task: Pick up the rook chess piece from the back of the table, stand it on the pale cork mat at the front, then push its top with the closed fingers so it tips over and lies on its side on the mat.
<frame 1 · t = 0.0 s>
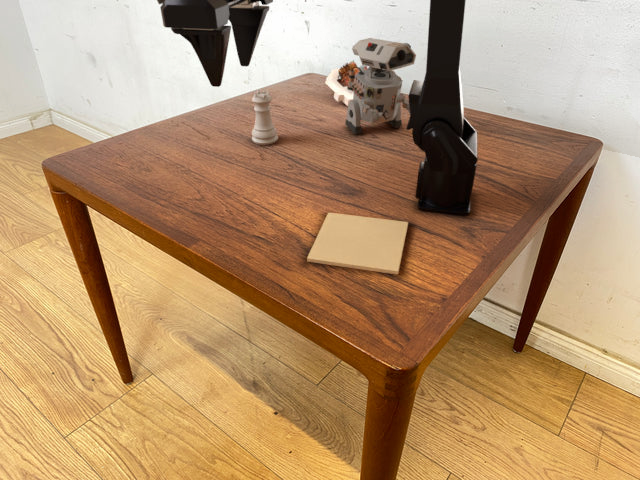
hand: (231, 75, 62), 15 cm above the table, tool pointing down, fingers open, 9 cm apart
figurine: (379, 133, 84), on the table
cork mat: (360, 242, 57), on the table
rook chess piece: (265, 141, 82), on the table
mineral specimen: (353, 97, 101), on the table
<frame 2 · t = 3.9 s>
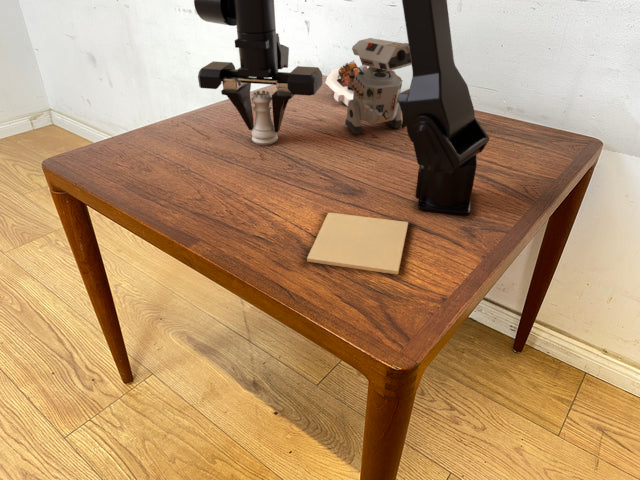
hand: (264, 130, 81), 2 cm above the table, tool pointing down, fingers closed on rook chess piece, 4 cm apart
rook chess piece: (265, 141, 82), on the table, touching gripper
everything else where it was.
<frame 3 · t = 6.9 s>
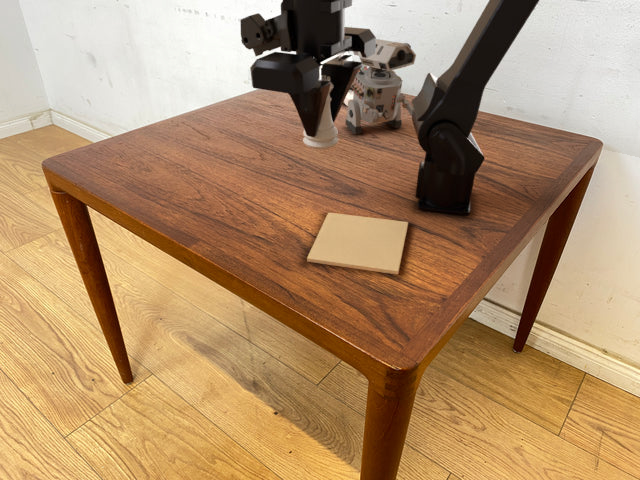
hand: (320, 129, 59), 10 cm above the table, tool pointing down, fingers closed on rook chess piece, 4 cm apart
rook chess piece: (320, 144, 61), point 8 cm above the table, touching gripper
everything else where it was.
when the fingers open (2 cm above the table, at t = 10.0 s): rook chess piece stays where it is, resting on cork mat.
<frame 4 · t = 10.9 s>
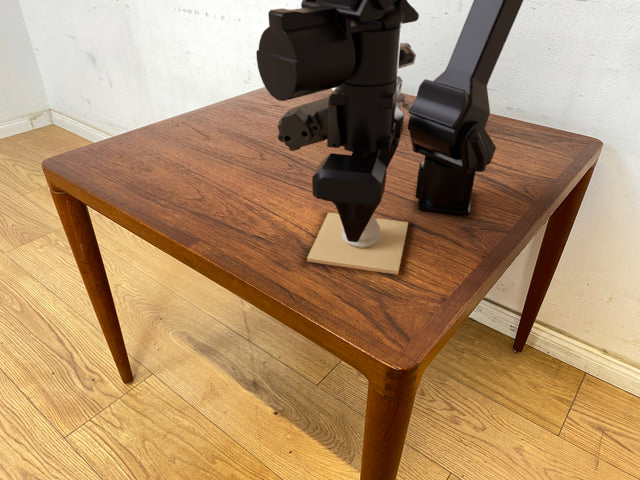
hand: (360, 218, 55), 3 cm above the table, tool pointing down, fingers open, 9 cm apart
rook chess piece: (360, 240, 56), resting on cork mat
everything else where it was.
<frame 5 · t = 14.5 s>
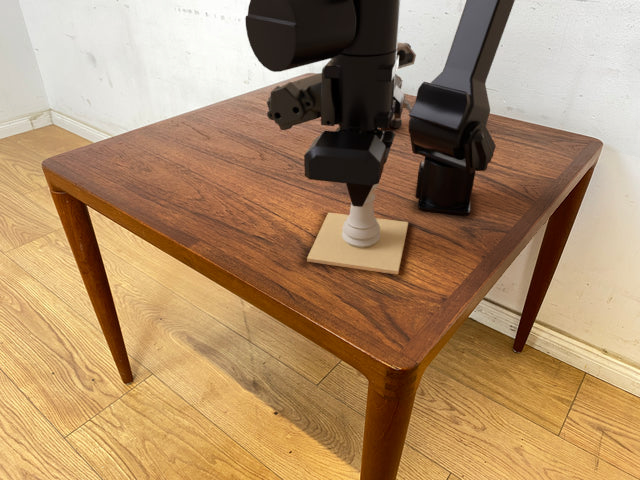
hand: (357, 205, 51), 6 cm above the table, tool pointing down, fingers closed
rook chess piece: (360, 239, 56), resting on cork mat, touching gripper
everything else where it was.
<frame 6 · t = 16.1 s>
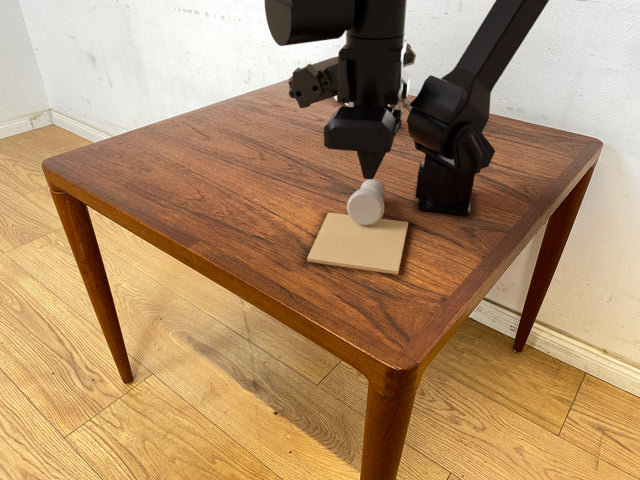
hand: (368, 177, 56), 6 cm above the table, tool pointing down, fingers closed
rook chess piece: (364, 210, 57), point 3 cm above the table, touching cork mat
everything else where it was.
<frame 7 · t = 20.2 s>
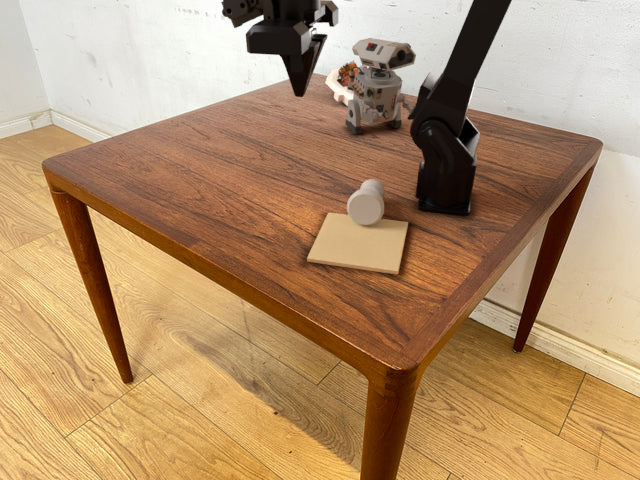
hand: (299, 96, 63), 12 cm above the table, tool pointing down, fingers closed
nothing on the table moved.
at the end: rook chess piece tilted 100°; rook chess piece inside the target area on the cork mat (1.4 cm from its centre), point 3.0 cm above the cork mat's base; the gripper is holding nothing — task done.
